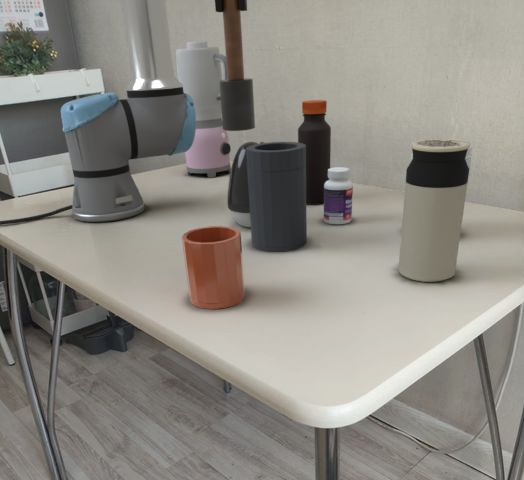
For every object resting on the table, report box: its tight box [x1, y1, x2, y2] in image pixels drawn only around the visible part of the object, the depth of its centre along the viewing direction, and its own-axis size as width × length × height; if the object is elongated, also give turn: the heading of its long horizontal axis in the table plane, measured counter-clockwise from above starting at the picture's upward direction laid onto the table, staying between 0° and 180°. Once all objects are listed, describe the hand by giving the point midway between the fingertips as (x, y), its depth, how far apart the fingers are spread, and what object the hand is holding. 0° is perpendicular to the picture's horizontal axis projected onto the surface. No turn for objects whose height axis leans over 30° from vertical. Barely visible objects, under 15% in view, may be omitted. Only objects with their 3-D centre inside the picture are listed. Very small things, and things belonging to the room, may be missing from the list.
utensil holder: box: [246, 141, 308, 253], centre depth 89 cm, size 10×10×16 cm
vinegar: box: [297, 99, 332, 205], centre depth 112 cm, size 7×7×20 cm
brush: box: [219, 0, 256, 132], centre depth 67 cm, size 4×4×24 cm
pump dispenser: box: [226, 141, 265, 229], centre depth 100 cm, size 10×10×15 cm
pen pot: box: [181, 225, 246, 310], centre depth 72 cm, size 8×8×9 cm
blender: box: [175, 40, 232, 178], centre depth 141 cm, size 16×12×32 cm
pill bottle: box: [323, 166, 354, 225], centre depth 101 cm, size 5×5×10 cm
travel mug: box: [397, 138, 472, 283], centre depth 74 cm, size 8×8×18 cm
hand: (231, 10), depth 66 cm, fingers closed on brush, 2 cm apart
